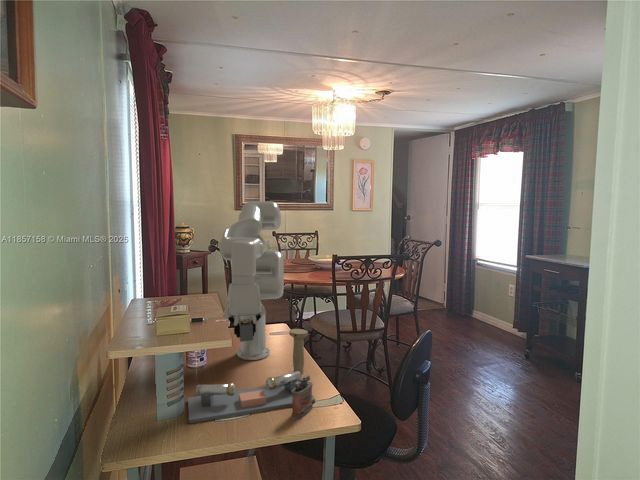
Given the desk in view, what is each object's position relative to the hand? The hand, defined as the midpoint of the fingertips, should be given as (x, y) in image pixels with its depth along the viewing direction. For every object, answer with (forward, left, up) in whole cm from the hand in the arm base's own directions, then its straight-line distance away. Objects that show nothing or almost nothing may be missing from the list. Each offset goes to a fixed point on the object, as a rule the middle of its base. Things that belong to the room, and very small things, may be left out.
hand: (245, 334), depth 132 cm
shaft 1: (+10, -10, -17) cm, 22 cm away
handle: (-4, +19, -17) cm, 26 cm away
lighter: (+22, +13, -17) cm, 30 cm away
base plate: (+11, 0, -17) cm, 20 cm away
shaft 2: (+10, +10, -17) cm, 22 cm away
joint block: (0, 0, -1) cm, 1 cm away
